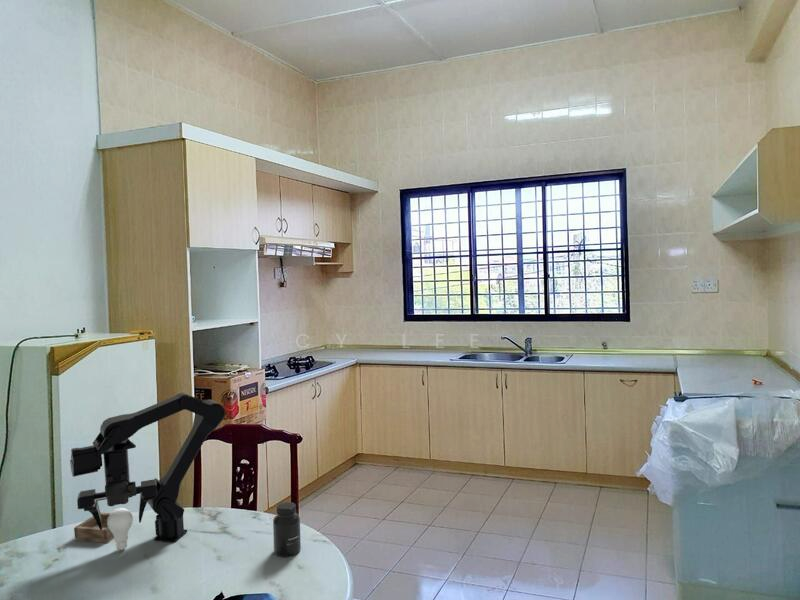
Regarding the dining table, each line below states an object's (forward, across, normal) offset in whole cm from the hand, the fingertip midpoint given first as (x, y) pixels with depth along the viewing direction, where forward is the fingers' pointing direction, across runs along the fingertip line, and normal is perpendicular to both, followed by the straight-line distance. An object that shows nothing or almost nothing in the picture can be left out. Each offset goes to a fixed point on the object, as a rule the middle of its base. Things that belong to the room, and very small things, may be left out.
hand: (120, 525), depth 162 cm
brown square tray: (+6, -5, +13) cm, 15 cm away
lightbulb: (+7, 0, 0) cm, 7 cm away
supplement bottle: (+7, +39, -20) cm, 44 cm away
